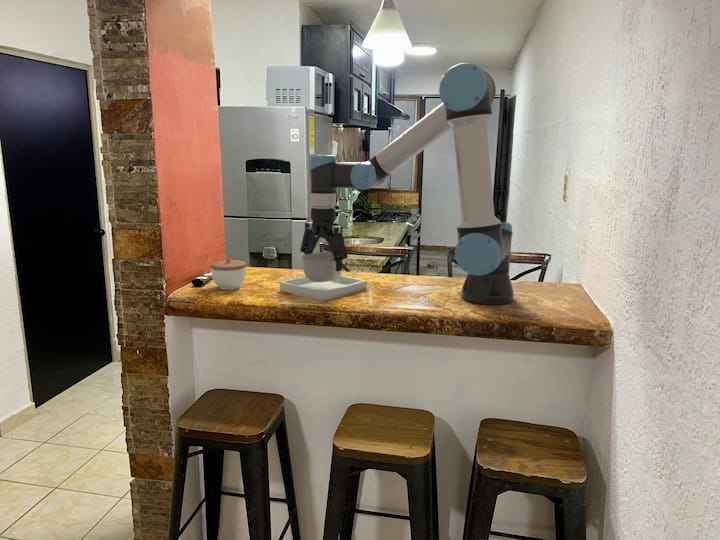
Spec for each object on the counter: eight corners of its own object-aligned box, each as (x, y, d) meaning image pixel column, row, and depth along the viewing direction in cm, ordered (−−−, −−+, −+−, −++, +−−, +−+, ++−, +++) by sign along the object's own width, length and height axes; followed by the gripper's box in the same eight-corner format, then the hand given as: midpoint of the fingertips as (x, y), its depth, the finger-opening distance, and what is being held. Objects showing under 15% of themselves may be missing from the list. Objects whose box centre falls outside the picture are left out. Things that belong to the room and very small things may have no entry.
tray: (366, 289, 168) (366, 280, 168) (322, 302, 154) (322, 292, 153) (324, 279, 180) (324, 271, 180) (279, 290, 166) (279, 281, 165)
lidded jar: (242, 292, 164) (240, 262, 162) (207, 291, 164) (205, 261, 162) (250, 283, 174) (249, 255, 172) (217, 283, 175) (215, 254, 172)
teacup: (329, 285, 159) (329, 259, 157) (296, 282, 162) (296, 256, 160) (346, 275, 172) (346, 251, 170) (315, 272, 175) (315, 248, 173)
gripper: (360, 209, 157) (359, 282, 162) (305, 203, 172) (306, 270, 176) (343, 211, 151) (342, 286, 156) (288, 204, 166) (289, 273, 171)
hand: (323, 278), depth 166 cm, fingers closed on teacup, 11 cm apart
